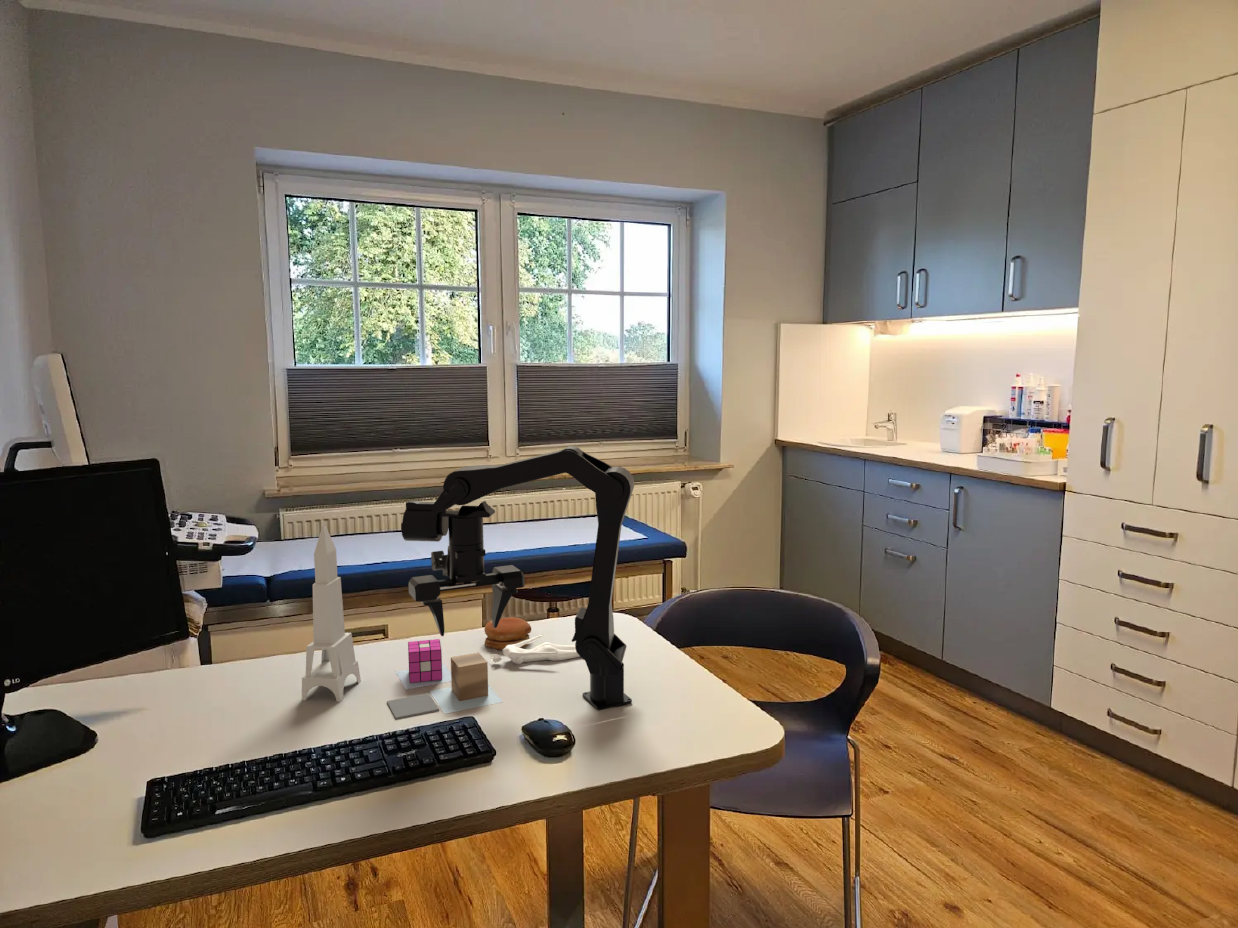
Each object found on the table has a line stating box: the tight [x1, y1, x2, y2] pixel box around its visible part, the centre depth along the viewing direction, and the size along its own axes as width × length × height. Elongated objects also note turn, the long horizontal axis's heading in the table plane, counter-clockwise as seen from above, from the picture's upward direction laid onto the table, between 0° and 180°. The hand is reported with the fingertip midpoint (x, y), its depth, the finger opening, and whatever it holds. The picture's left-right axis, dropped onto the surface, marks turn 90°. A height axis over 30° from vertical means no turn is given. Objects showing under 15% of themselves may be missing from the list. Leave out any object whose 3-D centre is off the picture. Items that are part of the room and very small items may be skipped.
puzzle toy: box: [407, 638, 443, 683], centre depth 147 cm, size 6×6×6 cm
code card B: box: [395, 662, 451, 691], centre depth 147 cm, size 9×9×1 cm
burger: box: [484, 616, 532, 651], centre depth 164 cm, size 10×9×5 cm
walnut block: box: [450, 652, 489, 701], centre depth 139 cm, size 5×5×6 cm
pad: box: [386, 692, 440, 720], centre depth 134 cm, size 7×7×1 cm
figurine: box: [490, 634, 581, 665], centre depth 157 cm, size 10×4×25 cm
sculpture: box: [301, 522, 362, 703], centre depth 139 cm, size 7×8×30 cm
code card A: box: [429, 684, 504, 715], centre depth 138 cm, size 10×10×1 cm
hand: (468, 631), depth 138 cm, fingers open, 9 cm apart
